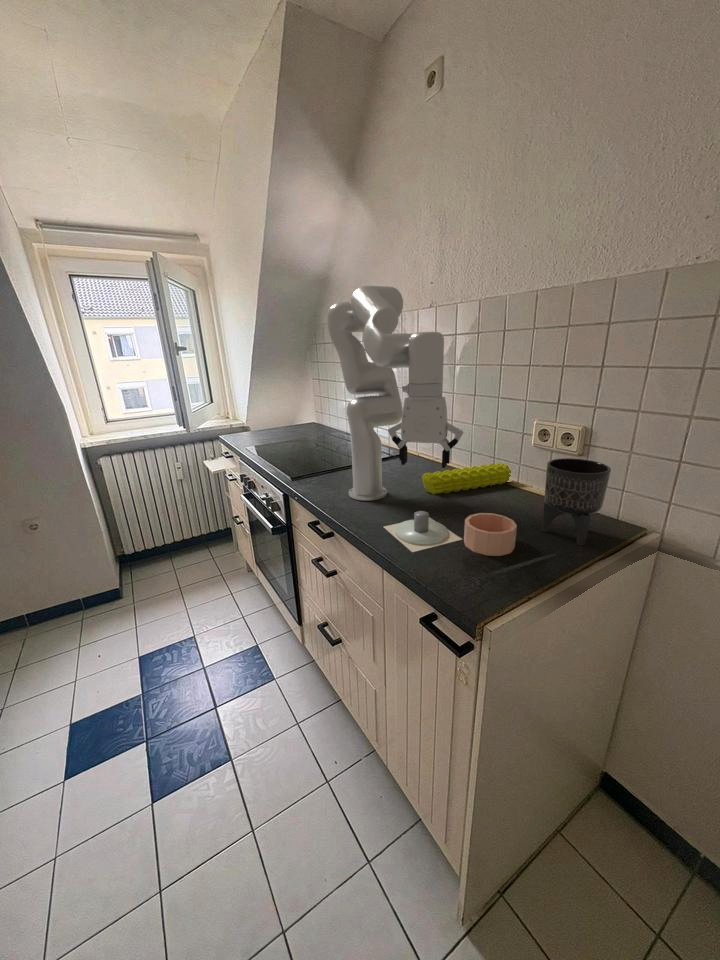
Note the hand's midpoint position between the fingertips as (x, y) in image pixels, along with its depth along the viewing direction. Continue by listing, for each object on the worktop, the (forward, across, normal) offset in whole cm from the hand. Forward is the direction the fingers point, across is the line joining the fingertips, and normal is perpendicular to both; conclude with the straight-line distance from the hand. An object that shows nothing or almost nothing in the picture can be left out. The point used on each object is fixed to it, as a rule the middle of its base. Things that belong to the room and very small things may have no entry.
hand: (424, 464), depth 89 cm
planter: (+19, +34, +11) cm, 40 cm away
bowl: (+18, +16, -1) cm, 24 cm away
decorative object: (+19, +7, +39) cm, 44 cm away
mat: (+18, 0, 0) cm, 18 cm away
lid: (+18, 0, 0) cm, 18 cm away
